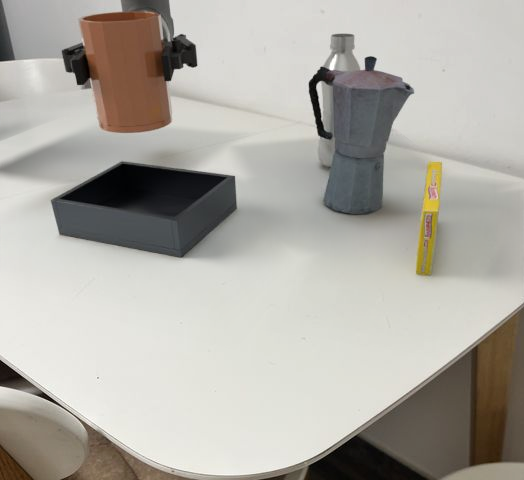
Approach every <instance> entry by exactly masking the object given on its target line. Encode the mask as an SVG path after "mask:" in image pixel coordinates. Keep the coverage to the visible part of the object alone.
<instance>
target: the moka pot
mask: <svg viewBox="0 0 524 480" xmlns="http://www.w3.org/2000/svg"><path fill="white" fill-rule="evenodd" d="M377 61H378V58H377V57H375V56H372V55H369V56H366V57H364V69H360V70H359V71H353V72H347V73H343V72H342V71H338V70H329V69H327V68H325V67H323V65H322V66H320V67H319V69H317V70H316V73H314V75H313V76H312V78H311V79H310V80H309V81H308V95H309V98H310V103H311V106H312V111H313V116H314V119H315V120H314V123H315V126H316V132H317V136H318V137H319V138H320V137H322V138H325V139H328V140H331V139H332V137H333V134H332V133H331V132H326V131H325V130H324V125H323V122H322V119H323V115H322V109H321V105H320V100H319V99H320V97H319V93H318V89H317V85H318V84H319V83H321V81H323V82H325V83H326V84H327V85H329V86H333V114H334V138H335V152H334V155H333V160H332V164H331V167H330V169H329V173H328V177H327V183H326V186H325V191H324V194H323V195H324V196H323V202H324V204H325V205H326V206H327V207H329V208H330V209H332V210H334V211H337V212H341V213H344V214H350V215H351V214H352V215H365V214H367V215H368V214H370V213H374V212H376V211H378V210H380V209H381V208H382V206H383V198H384V171H385V170H384V166H385V154H384V153H385V152H386V150H387V144H388V142H389V138H390V136H391V133H392V132H391V131H392V128H393V124H394V122H395V120H396V119H397V118H398V116H399V114H400V112H401V111H402V109H403V107H404V105H405V103H406V102H407V101H408V98H410V96H412V95H414V94H415V89H414V87H412V86H411V85H410V83H408V82H405V81H403V78H402V77H401V76H397V75H395V74H391V73H388V72H385V71H382V70H375V67H376V64H377Z"/></svg>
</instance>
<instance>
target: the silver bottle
mask: <svg viewBox="0 0 524 480" xmlns="http://www.w3.org/2000/svg"><path fill="white" fill-rule="evenodd" d="M329 50H331V53H330V55H329V56H328V57H327V58H326V60H325V62H324V64H323V65H322V67H325V68H327V69H329V70H338V71H342V72H343V73H347V72H353V71H359V70H361V66H360V64H359V62H358V60H357V58H356V56H355V54H354V52H353V50H355V34H353V33H333V34H331V35H330V45H329ZM320 83H321V92H322V93H321V95H322V118H321V120H322V122H323V125H324V130H325V131H326V132H331V133H332V134H333V137H332V139H331V140H328V139H325V138H322V137H320V136H319V140H318V146H317V157H318V160H319V162H320V164H321V165H323V166H324V167H327V168H331V164H332V160H333V155H334V152H335V138H334V114H333V86H329V85H327V84H326V83H325V82H323V81H320Z"/></svg>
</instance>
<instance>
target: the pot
mask: <svg viewBox="0 0 524 480" xmlns="http://www.w3.org/2000/svg"><path fill="white" fill-rule="evenodd" d="M77 21H78V27H79V32H80V36H81V41H82V42H83V47H84V52H85V57H86V62H87V68H88V73H89V81H90V86H91V87H90V88H91V93H92V99H93V103H94V106H95V107H94V109H95V114H96V118H97V121H98V127H99V128H100V129H101V130H102V131H105V132H110V133H114V134H115V133H116V134H137V133H145V132H151V131H156V130H159V129H162V128H165V127H167V126H169V125H171V124H172V122H173V106H172V99H171V90H170V89H171V88H170V83H169V82H170V81H164V73H163V64H162V54H163V51H164V49H165V47H164V38H163V30H162V22H161V14H159V13H156V12H144V11H129V12H122V11H112V12H102V13H94V14H89V15H83V16H81V17H79V18H78V19H77ZM82 42H81V43H82Z"/></svg>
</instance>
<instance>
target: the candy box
mask: <svg viewBox="0 0 524 480" xmlns="http://www.w3.org/2000/svg"><path fill="white" fill-rule="evenodd" d="M442 168H443V162H442V161H429V162H428V163H427V167H426V176H425V182H424V188H423V197H422V204H421V213H420V221H419V222H420V223H419V231H418V232H419V233H418V243H417V244H418V245H417V253H416V265H415V274H416V275H423V276H431V275H432V271H433V264H434V258H435V257H434V256H435V250H436V242H437V235H438V234H437V233H438V223H439V212H440V203H441V202H440V201H441V200H440V199H441V186H442V185H441V184H442V171H443V169H442Z"/></svg>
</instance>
